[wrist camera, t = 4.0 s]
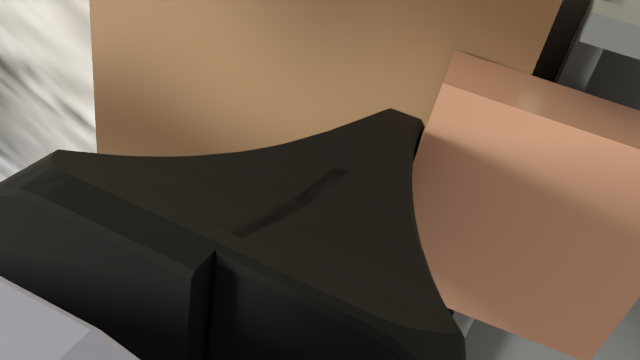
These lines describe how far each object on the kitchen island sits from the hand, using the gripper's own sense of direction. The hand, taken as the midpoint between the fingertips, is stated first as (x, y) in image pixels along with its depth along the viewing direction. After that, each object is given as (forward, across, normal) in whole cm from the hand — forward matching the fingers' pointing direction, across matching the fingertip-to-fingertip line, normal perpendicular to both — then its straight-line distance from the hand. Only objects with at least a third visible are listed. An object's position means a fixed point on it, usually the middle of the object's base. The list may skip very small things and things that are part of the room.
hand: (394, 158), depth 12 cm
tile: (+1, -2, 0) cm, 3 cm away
